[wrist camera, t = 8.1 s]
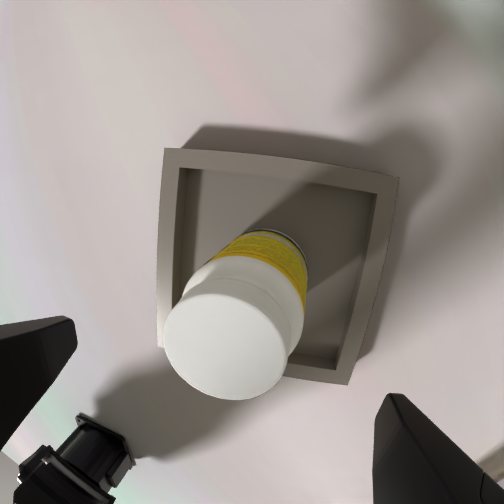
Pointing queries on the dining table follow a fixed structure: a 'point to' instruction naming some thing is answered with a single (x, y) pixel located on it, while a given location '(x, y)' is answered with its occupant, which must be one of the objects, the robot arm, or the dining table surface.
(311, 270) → the tray
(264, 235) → the supplement bottle
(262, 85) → the dining table surface
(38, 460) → the robot arm
